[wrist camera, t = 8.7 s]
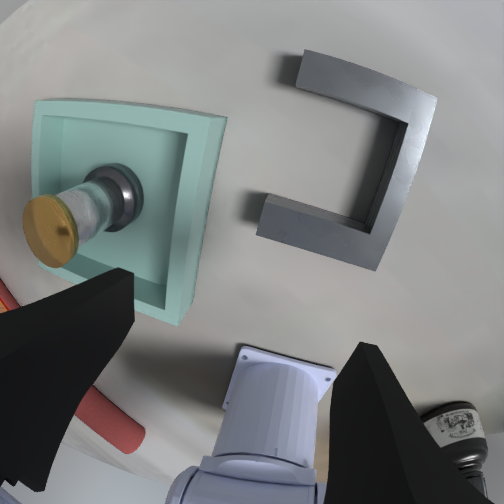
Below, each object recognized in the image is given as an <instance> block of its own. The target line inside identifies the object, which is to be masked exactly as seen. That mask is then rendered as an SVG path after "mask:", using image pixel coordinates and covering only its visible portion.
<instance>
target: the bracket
mask: <svg viewBox="0 0 504 504" xmlns="http://www.w3.org/2000/svg"><path fill="white" fill-rule="evenodd" d="M295 85H296V87H297V88H298V89H302V90H306V91H310V92H313V93H317V94H320V95H323V96H327V97H330V98H333V99H336V100H339V101H343V102H346V103H349V104H352V105H354V106H357V107H360V108H363V109H366V110H368V111H371V112H374V113H376V114H379V115H382V116H384V117H387V118H389V119H392V120H394V121H397V122H399V124H398V128H397V131H396V134H395V138H394V141H393V144H392V148H391V151H390V154H389V157H388V160H387V163H386V166H385V169H384V172H383V175H382V178H381V181H380V184H379V187H378V190H377V192H376V195H375V198H374V201H373V203H372V206H371V209H370V212H369V214H368V217H367V220H366V222H365V223H362V222H360V221H357V220H354V219H351V218H348V217H345V216H341V215H338V214H335V213H332V212H329V211H326V210H323V209H320V208H316V207H313V206H310V205H307V204H303V203H300V202H297V201H293V200H290V199H287V198H283V197H280V196H276V195H273V194H270V193H269V194H268V196H267V198H266V200H265V202H264V206H263V209H262V213H261V217H260V221H259V225H258V228H257V232H256V235H258V236H261V237H264V238H268V239H271V240H274V241H278V242H281V243H284V244H288V245H291V246H294V247H298V248H301V249H304V250H308V251H311V252H314V253H318V254H321V255H324V256H327V257H331V258H334V259H337V260H340V261H344V262H347V263H350V264H353V265H356V266H360V267H363V268H366V269H369V270H372V271H376V269H377V267H378V265H379V263H380V260H381V258H382V256H383V254H384V252H385V249H386V247H387V245H388V242H389V240H390V238H391V235H392V233H393V231H394V228H395V226H396V223H397V221H398V218H399V216H400V213H401V211H402V208H403V206H404V203H405V200H406V198H407V195H408V192H409V190H410V187H411V184H412V181H413V178H414V176H415V173H416V170H417V167H418V164H419V161H420V158H421V155H422V151H423V148H424V145H425V142H426V139H427V135H428V132H429V128H430V125H431V121H432V118H433V114H434V110H435V106H436V102H437V98H436V97H434V96H432V95H430V94H427V93H425V92H423V91H421V90H419V89H417V88H415V87H413V86H410V85H408V84H406V83H403V82H401V81H399V80H396V79H394V78H392V77H389V76H387V75H384V74H381V73H379V72H376V71H374V70H371V69H368V68H365V67H362V66H360V65H357V64H354V63H351V62H348V61H344V60H341V59H338V58H335V57H331V56H328V55H324V54H321V53H317V52H313V51H310V50H306V49H305V50H304V54H303V58H302V61H301V65H300V69H299V73H298V76H297V80H296V84H295Z"/></svg>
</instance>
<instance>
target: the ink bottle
mask: <svg viewBox="0 0 504 504" xmlns="http://www.w3.org/2000/svg"><path fill="white" fill-rule="evenodd" d="M420 419H421V420H422V422H423V423H424V425H425V427H426V428H427V430H428V431H429V433H430V434H431V435H432V437H433V438H434V440H435V441H436V442H437V444H438V445H439V446H440V448H441V449H442V450H443V452H444V453H445V454H446V456H447V457H448V458H449V459H450V461H451V462H452V463H453V464H454V465H455V466H456V468H457V469H458V470H459V471H460V472H461V473H462V474H463V475H464V477H465V478H466V479H467V480H468V481H469V482H470V483H471V484H472V485H473V486H474V487H475V488H476V489H478V490H479V491H480V492H481V493H482V494H483V495H484V496H485V497H486V498H487V499H488V496H487V490H486V484H485V478H484V477H483V472H481V471H479V470H480V469H481V468H482V465H483V463H484V462H485V460H486V458H487V456H488V447H487V443H486V439H485V435H484V432H483V428H482V425H481V422H480V419H479V416H478V413H477V410H476V408H475V407H474V406H473V405H472V404H468V403H457V404H451V405H447V406H443V407H440V408H438V409H435V410H433V411H431V412H429V413H427V414H425V415H424V416H422V417H421V418H420Z"/></svg>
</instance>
